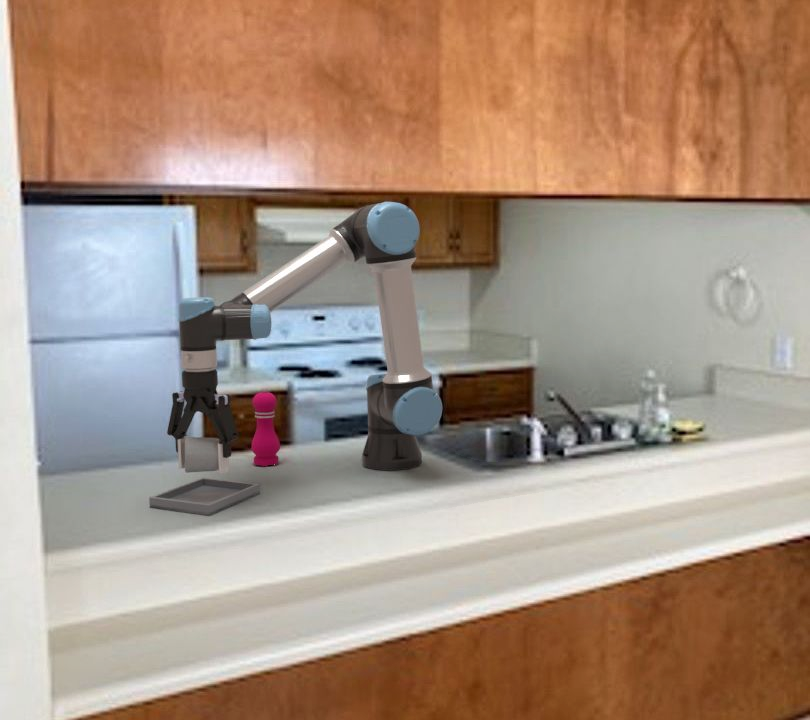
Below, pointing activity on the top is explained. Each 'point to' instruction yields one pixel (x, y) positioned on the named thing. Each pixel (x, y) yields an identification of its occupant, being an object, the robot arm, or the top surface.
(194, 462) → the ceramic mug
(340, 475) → the top surface
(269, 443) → the pepper mill
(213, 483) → the grey tray
